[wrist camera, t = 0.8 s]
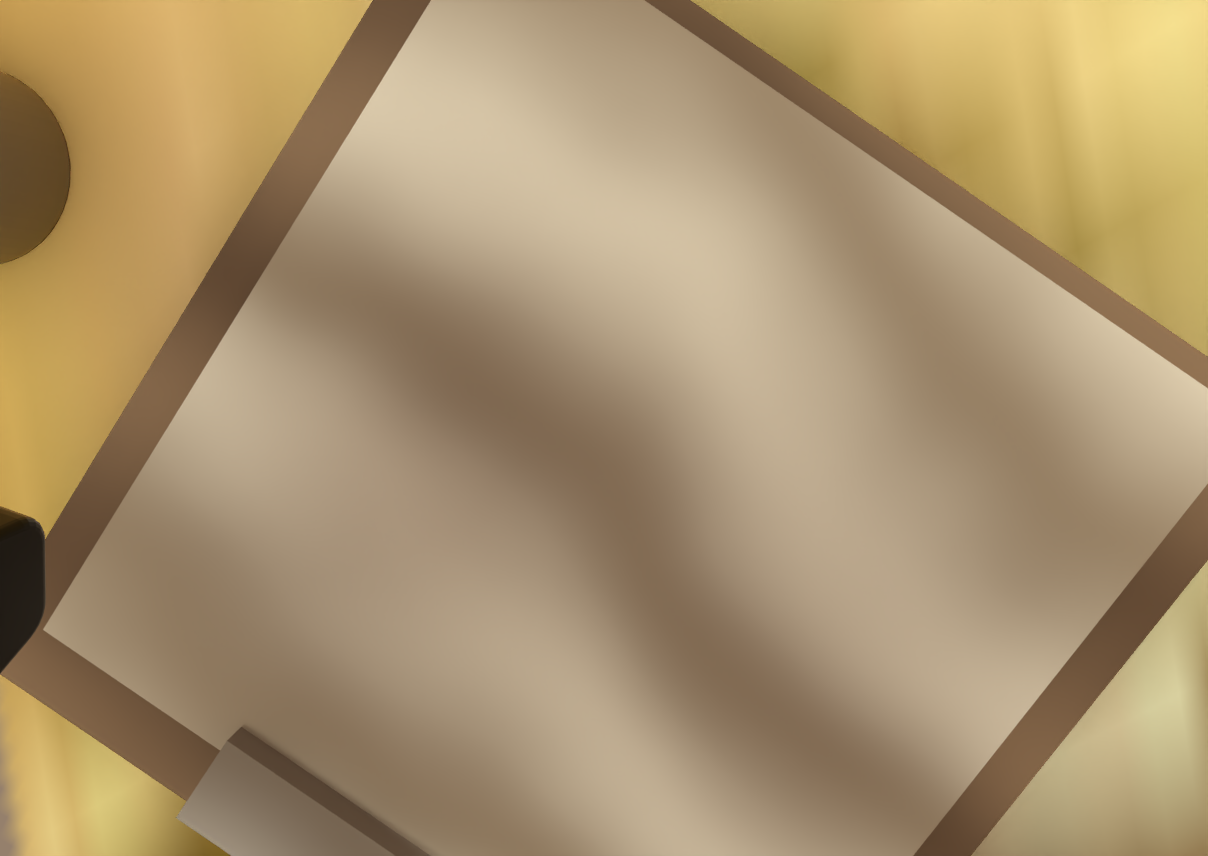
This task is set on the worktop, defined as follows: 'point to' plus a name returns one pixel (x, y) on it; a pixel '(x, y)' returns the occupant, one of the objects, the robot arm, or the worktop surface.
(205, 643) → the brown framed square board
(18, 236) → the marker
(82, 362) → the worktop surface
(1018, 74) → the worktop surface
